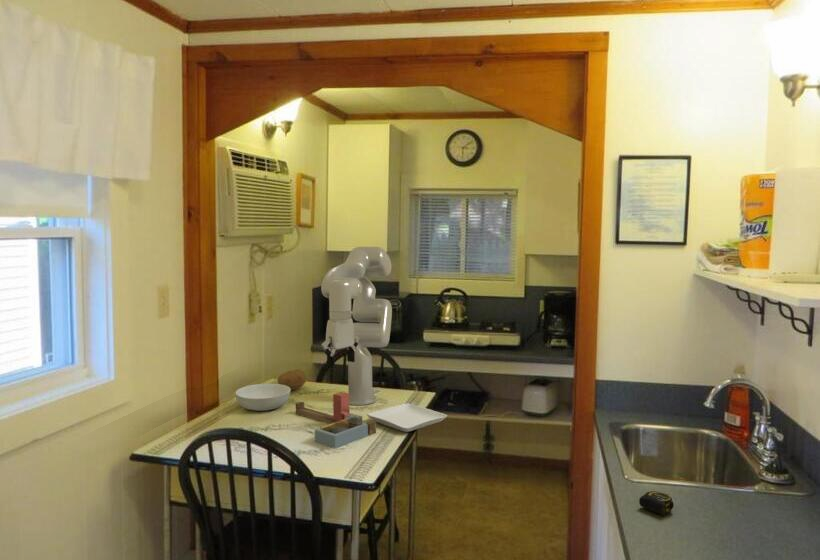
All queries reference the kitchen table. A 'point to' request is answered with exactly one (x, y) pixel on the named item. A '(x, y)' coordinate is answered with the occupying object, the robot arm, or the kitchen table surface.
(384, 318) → the robot arm
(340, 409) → the toy block assembly
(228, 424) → the kitchen table surface
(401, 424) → the salad plate
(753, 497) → the kitchen table surface
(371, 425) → the rail
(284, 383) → the potato
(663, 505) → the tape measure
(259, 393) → the serving bowl
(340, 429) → the puck
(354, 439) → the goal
